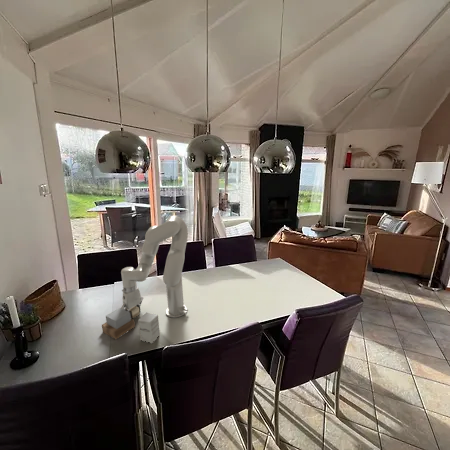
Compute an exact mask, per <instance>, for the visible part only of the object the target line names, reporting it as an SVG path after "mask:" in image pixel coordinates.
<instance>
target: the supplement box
mask: <svg viewBox="0 0 450 450" xmlns="http://www.w3.org/2000/svg"><path fill="white" fill-rule="evenodd" d="M159 321H160V320H159V315H158V314H156V313H151V312H145V313H144V314H143V315H141V317H139V319H138V320H137V322H138V329H139V338H140V341H141V340H142V341H141V342H145V341H146V342H145V343H148V342H150V343H149V344H154V342H155V341H157V339H158V338H159V337H160V336H161V334H160V331H161V330H160V322H159ZM159 335H160V336H159ZM158 336H159V337H158ZM157 337H158V338H157ZM153 341H154V342H153Z"/></svg>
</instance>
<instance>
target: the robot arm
mask: <svg viewBox="0 0 450 450" xmlns="http://www.w3.org/2000/svg"><path fill="white" fill-rule="evenodd" d="M188 231H189V230H188V227H187V224H186V222H185V221H184V219H183V218H181V217H180V216H178V215H170V216H169V217H168V218H167V220H166V221H165V222H162V224H160V225H152V226H150V227H149V228H148V229H147V230H146V233H145V235H144V237H145V239H144V242H143V244H142V248H141V257H140V261H139V263H138V266H137V267H136V268H134V267H133V266H126V267H124V268H122V269H121V271H120V274H121V281H122V282H121V283H122V289H121V292H122V304H121V307H120V308H121V309H123V310H126V311H128V312H129V311H130V309H131V308H132V307H134V306H137V307H139V311H140V312H141V306H142V303H143V300H144V297H143V296H142V295H141V292H140V289H139V287H138V285H137V282H139V283H141V282H144V281H146V280H147V278H148V276H149V274H150V272H151V268H152V266H153V263H154V261H155V257H156V255H157V253H158V250H159V247H160V244H161V243H162V242H164V241H166V240H167V239H168V240H169V239H170V238H171V244H170V248H169V251H168V253H167V256H166V259H165V264H164V265H165V266H164V270H163V276H162V280H163V283H164V284H165V288H166V300H167V308H166V310H165V315H166V316H168V317H169V318H172V319H173V318H181V317H182V316H186V315H187V314H188V311H189V309H188V308H187V307H186V305H185V302H184V290H183V268H184V263H185V253H186V248H187V244H188V236H189V232H188ZM127 309H128V310H127ZM130 316H131V315H130Z"/></svg>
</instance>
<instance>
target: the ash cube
mask: <svg viewBox="0 0 450 450" xmlns="http://www.w3.org/2000/svg"><path fill="white" fill-rule="evenodd" d="M127 310H128V309H127ZM129 312H130V315H131V317H132V318H134V317H135V318H137V317H139V316H140V315H139V314H140V313H141V310H140V311H139V307H137V306H134V307H132V308H131V309H130V311H129ZM138 315H139V316H138ZM136 316H137V317H136ZM132 318H131V319H132ZM135 318H134V319H135Z"/></svg>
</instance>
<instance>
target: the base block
mask: <svg viewBox="0 0 450 450" xmlns="http://www.w3.org/2000/svg"><path fill="white" fill-rule="evenodd" d="M135 325H136V324H135V320H134V319H132V318H131V321H129V322H128V323H126V324H125V325H123V326H121V327H120V328H118V329H115V328H114V327H112V326H110V325H108V324H107V322H104V323H103V324H101V329H102V333H103V334H105V335H107V336H108V337H110V338H112V337H113V338H112V339H114V338H115V339H114V340H116V339H117V338H118V339H120V338H121V337H122V336H121V335H123V334H124V333H126V332H127V331H129V330H130V329H132V328H133V329H135V328H136V326H135ZM134 327H135V328H134ZM133 329H132V330H133ZM130 331H131V330H130ZM130 331H129V332H130ZM127 333H128V332H127ZM127 333H126V334H127ZM124 335H125V334H124ZM124 335H123V336H124ZM120 336H121V337H120ZM119 337H120V338H119ZM118 339H117V340H118Z"/></svg>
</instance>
